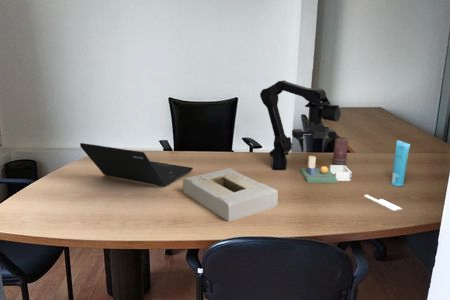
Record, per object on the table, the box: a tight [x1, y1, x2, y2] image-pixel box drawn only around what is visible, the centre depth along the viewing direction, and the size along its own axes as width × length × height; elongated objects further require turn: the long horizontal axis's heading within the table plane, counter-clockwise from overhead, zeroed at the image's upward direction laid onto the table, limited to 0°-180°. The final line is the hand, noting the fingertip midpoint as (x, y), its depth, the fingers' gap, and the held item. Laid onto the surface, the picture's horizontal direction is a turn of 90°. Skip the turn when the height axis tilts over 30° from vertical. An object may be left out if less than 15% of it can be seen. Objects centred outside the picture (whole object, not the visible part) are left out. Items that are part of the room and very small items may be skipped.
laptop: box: [80, 142, 193, 187], centre depth 171 cm, size 33×38×19 cm
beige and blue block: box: [307, 155, 317, 175], centre depth 175 cm, size 3×7×8 cm, turn 1°
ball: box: [320, 165, 329, 174], centre depth 175 cm, size 4×4×4 cm
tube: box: [391, 139, 411, 187], centre depth 165 cm, size 7×5×19 cm, turn 26°
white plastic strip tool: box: [363, 194, 403, 212], centre depth 150 cm, size 5×15×1 cm, turn 25°
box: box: [182, 167, 279, 223], centre depth 150 cm, size 23×8×32 cm
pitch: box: [300, 167, 338, 184], centre depth 176 cm, size 13×15×2 cm
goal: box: [329, 164, 353, 182], centre depth 176 cm, size 7×10×4 cm
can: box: [332, 137, 350, 166], centre depth 190 cm, size 6×6×14 cm
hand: (312, 152), depth 173 cm, fingers open, 9 cm apart
